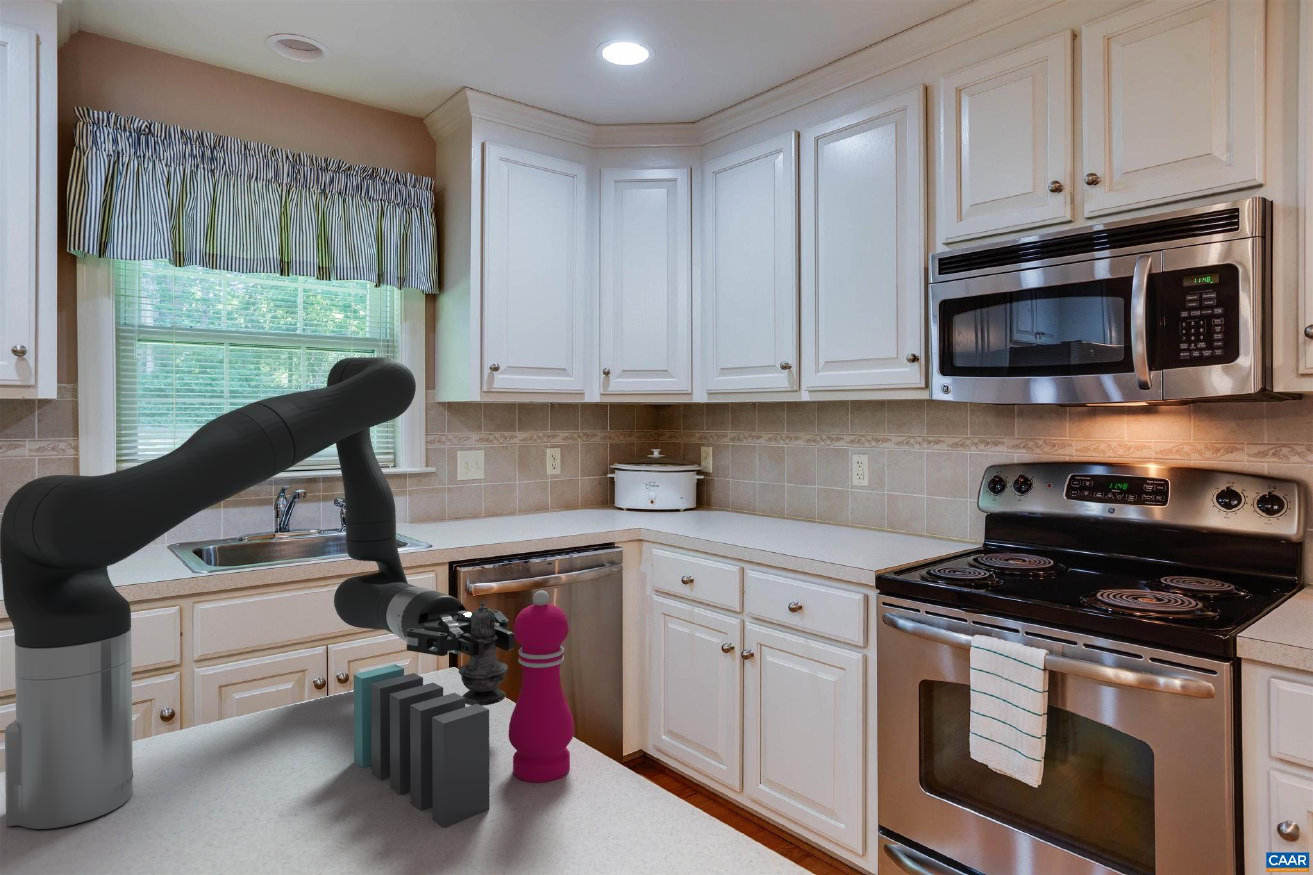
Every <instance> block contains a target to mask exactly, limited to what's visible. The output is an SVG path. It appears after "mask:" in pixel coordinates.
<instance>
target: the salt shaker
mask: <svg viewBox="0 0 1313 875" xmlns="http://www.w3.org/2000/svg"><path fill="white" fill-rule="evenodd" d="M486 604H487V603H486V602H485V601H484V600H483V599H482V600H481V601H480V604H479V605H480V606H479V607H478V608H477V607H476V608H475V609H474V610H473V611H472V612H471V613H472V614H471V635H473V636H476V637H478V638H481V639H483V641H484V657H482V658H479V659H476V658H474V657H472V656H469V660H468V663H465V664H463V665H462V666H460V668H459V669H458V674H459V675H460V676H461V682H462V684H463V686H464V687H465V688H466V689H467V690H468V691H467V692H465V693H464V694H462V695H461V696H462V697H464V698H465V705H468V706H471V705H475V704H479V705H481V706H483V707H485V706H490V705H495V704H497V703H500V702H502V701H503V700H504V699H505V698H506V693H505V691H503V690H502V689H500V688H499V687H500V686H501V685H502V684H503V682H504V680H505V677H506V672H507V671H508V668H509V667H508V665H507V664H506V663H505V662H503V661H499V660H498V658H497V654H496V652H497V650H496V648H497V647H496V640H497V639H498V636H497V635H496V634H495V614H494V610H493V609H491V608H490V607H487V606H485V605H486Z"/></svg>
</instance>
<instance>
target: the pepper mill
mask: <svg viewBox="0 0 1313 875" xmlns="http://www.w3.org/2000/svg"><path fill="white" fill-rule="evenodd" d="M532 598H533V599H532V601H533V603H534V604H531V605H528V606H527V607H524V608H523V609H521V611H519V613H518V615H516V618H515V621H514V624H513V633H514V640H515V641H516V642H518V644H519V645H520V648H519V649H518V651H517V652H518V655H519V658H518V663H519V664H520V665H522V666H521V667H522V681H521V687H520V688H521V689H520V692H519V695H518V698H517V701H516V702H515V703H516V704H515V706H514V708H513V710H512V713H511V716H510V721H509V725H508V741H509V742H510V744H511V746H512V747H513V748H514V749H515V750H516V751H515V752H514V754H513V756H512V771H513V774H514V776H515V777H516V778H517V779H520V780H521V781H525V782H529V783H544V782H545V783H546V782H547V783H548V782H550V781H555V780H558V779H560V778H561V777H564V776H565V775H566V774H567V773H568V772H569V770H570V767H571V766H570V765H571V752H570V751H569V749H568V748H567V747H568V746H569V745H570V743H571V742H572V740H573V738H574V736H575V725H574V724H575V723H574V718H573V715H572V714H573V713H572V710H571V708H570V706H569V704H568V702H567V700H566V697H565V694H564V692H563V687H562V682H561V664H562V663H563V662H564V660H565V657H564V652H565V647H564V646H562V644H563V643H564V641H565V640H566V639H567V637H568V635H569V630H570V629H569V621H568V617H567V616H566V613H565V611H564V610H562V609H561V608H560V607H558V606H556V605H554V604H552V603H549V602H550V596H549V593H548V592H547V591H546V590H538V591H536V592H534V594H533V597H532Z"/></svg>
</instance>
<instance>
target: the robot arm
mask: <svg viewBox="0 0 1313 875" xmlns="http://www.w3.org/2000/svg"><path fill="white" fill-rule="evenodd" d="M416 383H417V382H416V379H415V376H414V374H413V372H412V371H411V369H410V368H409V367H408V366H407V365H406V364H404V363H402V362H401V361H399V360H397V359H393V358H389V357H384V356H383V357H382V356H381V357H372V356H371V357H370V356H366V357H359V356H358V357H345V358H343V359H340V360H338V361H337V362H335V364H334V365H333V366H332V367H331V369H330V370H329V373H328V375H327V380H326V387H321V388H315V389H308V390H302V391H297V392H291V393H287V394H286V393H285V394H282V395H281V394H280V395H276V396H271V397H267V398H264V399H259V400H257V401H254V402H251V403H249V404H246V405H243V406H241V407H239V408H236V409H233V410H231V411H228V412H225V413H223V414H221V415H219V416H217V417H215V418H214V419H211V420H210V421H207V423H205V424H204V425H202V426H201V427H200V428H198V429H197V430H196V431H195V432H193V434H191V435H190V437H189V438H188V439H187V440H186V441H184V442H183V443H182V444H181V445H179V447H177V448H176V449H174V450H172V451H171V452H168V453H167V454H164V455H162V456H160V457H157V458H154V459H151V460H149V461H146V462H143V463H140V464H137V465H135V466H132V467H127V468H125V469H121V470H117V471H115V472H110V473H106V474H101V475H76V474H75V475H74V474H54V475H52V474H51V475H47V476H41V477H37V478H35V479H33V480H30V481H29V482H26V483H25V484H24V485H22V486H21V487H19V489H17V490H16V491H15V492H14V493H13V494H12V495H11V496H10V498H9V500H8V501H7V503H6V505H5V507H4V509H3V514H2V517H1V521H0V522H1V523H0V565H1V566H0V567H1V578H2V595H3V596H2V597H3V603H4V608H5V612H6V614H7V617H8V618H9V620H10V622H11V624H12V626H13V631H14V632H13V633H14V672H15V673H14V674H15V678H14V679H15V680H14V682H15V720H14V721H12V722H11V723H9V724H8V725H7V726H6V727H5V730H4V765H5V766H4V773H5V774H4V775H5V777H4V778H5V779H4V781H5V785H4V786H5V826H6V827H12V826H14V827H15V826H20V827H23V828H25V829H26V828H28V829H33V830H34V829H35V830H42V829H43V830H47V829H48V830H49V829H54V828H63V827H67V826H73V825H76V824H79V823H85V822H87V821H90V820H93V819H96V818H99V817H101V816H104V815H106V814H108V813H110V812H112V811H114V810H116V809H118V808H120V807H121V806H122V805H124V804H125V803H126V802H127V801H128V800H130V799H131V797H132V796H133V778H134V769H133V766H134V765H133V680H132V679H133V672H132V670H133V668H132V661H133V660H132V659H133V658H132V611H131V610H132V608H131V604H130V603H129V601H128V600H127V599H126V598H125V597H124V596H123V595H122V594H121V593H120V592H119V591H118V590H117V589H116V588H115V586H114V584H113V583H112V581H111V579H110V576H109V570H108V567H110V566H112V565H115V564H117V563H120V562H122V561H123V560H126V559H127V558H128V557H130V556H132V555H133V554H135V553H137V552H138V551H140V550H142V549H143V548H145V547H146V546H149V544H151V543H153V542H154V541H155V540H157V539H158V538H160V537H162V536H163V535H165V534H166V533H168V532H169V531H170V530H172V529H174V528H176V527H177V526H178V525H179V524H181V523H183V522H184V521H187V520H188V519H190V518H191V517H193V516H195V515H197V514H198V513H200V512H202V511H205V510H206V509H208V508H210V507H212V506H214V505H217V504H219V503H221V502H223V501H226V500H228V499H230V498H232V497H234V496H235V495H238V494H239V493H241V492H243V491H246V490H247V489H250V488H252V487H254V486H256V485H258V484H261V483H263V482H266V481H267V480H269V479H271V478H274V477H275V476H277V475H279V474H280V473H283V472H284V471H287V470H289V469H291V468H292V467H294V466H295V465H298V464H299V463H301V462H303V461H304V460H306V459H308V458H311V457H312V456H315V455H317V454H318V453H320V452H322V451H324V450H326V449H328V448H330V447H331V446H334V444H335V445H336V446H335V447H336V451H337V456H338V462H339V466H340V472H341V477H342V483H343V484H342V485H343V490H344V504H345V508H344V509H345V536H346V539H345V541H346V543H345V545H346V553H347V555H348V556H349V558H350V559H352V560H356V561H359V562H360V561H361V562H375V563H376V565H377V567H378V572H373V573H367V574H362V575H357V576H352V577H348V578H347V579H344V580H343V581H342V582H341V583H340V584H339V585H338V587H337V588H336V590H335V593H334V596H333V607H334V609H335V612H336V614H337V616H339V618H340V619H341V620H342V621H343V622H344V623H346V625H348V626H350V627H355V628H359V629H367V630H368V629H369V630H385V631H387V632H389V633H391V634H394V635H395V636H397V637H398V638H399V639H401V640H402V641H405V642H406V651H408V652H413V653H420V654H424V655H425V654H426V655H432V656H438V657H439V656H440V657H445V656H448V654H449V653H453V654H456V655H460V654H461V655H462V654H465V655H466V656H469V657H470V656H472V657H474V658H476V659H479V658H482V657H484V641H483V639H481V638H478V637H476V636H473V635H471V614H472V612H471V611H468V610H467V608H466V607H465V606H464V603H462V602H461V601H460V600H459V598H457V597H454V596H452V595H449V594H446V593H443V592H439V591H436V590H434V589H430V588H427V587H422V586H421V587H419V586H416V585H413V584H411V583H409V582H408V580H407V576H406V574H405V570H404V568H403V564H402V561H401V558H400V553H399V549H398V545H397V523H396V522H397V519H396V518H397V517H396V514H397V513H396V512H397V511H396V503H395V498H394V494H393V492H392V488H391V487H390V484H389V482H388V480H387V478H386V476H385V474H384V471H383V470H382V467H381V465H380V463H379V461H378V459H377V456H376V454H375V450H374V447H373V443H372V439H371V428H372V427H373V428H374V427H376V426H379V425H382V424H384V423H385V424H386V423H387V422H390V421H392V420H395V419H398V418H399V417H400V416H401V415H403V414H404V413H405V412H406V411H407V410H408V409H409V408H410V406H411V404H413V403H412V402H413V400H414V398H415V395H416V389H417V384H416ZM493 611H494V614H495V634H496V635H497V636H498V639H497V640H496V648H498V649H501V650H504V651H507V652H508V651H509V652H510V651H512V650H514V649H515V648H514V647H515V636H514V632H513V631H511V630H509V623H510V622H509V619H508V618H507V617H506V615H504V614H503V612H502V611H500V610H498V609H494V610H493Z"/></svg>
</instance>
